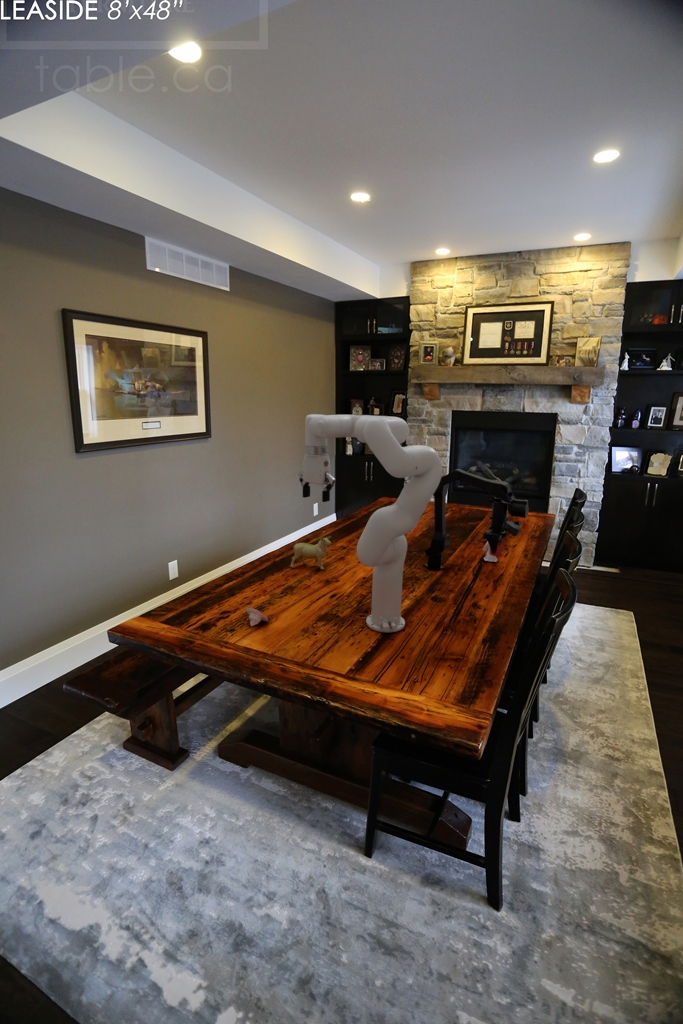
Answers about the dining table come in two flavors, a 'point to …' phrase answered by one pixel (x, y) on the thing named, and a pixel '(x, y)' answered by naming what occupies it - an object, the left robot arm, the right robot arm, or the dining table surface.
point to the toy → (311, 551)
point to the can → (497, 550)
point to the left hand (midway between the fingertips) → (316, 499)
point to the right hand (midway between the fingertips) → (495, 551)
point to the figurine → (488, 556)
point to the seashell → (255, 616)
